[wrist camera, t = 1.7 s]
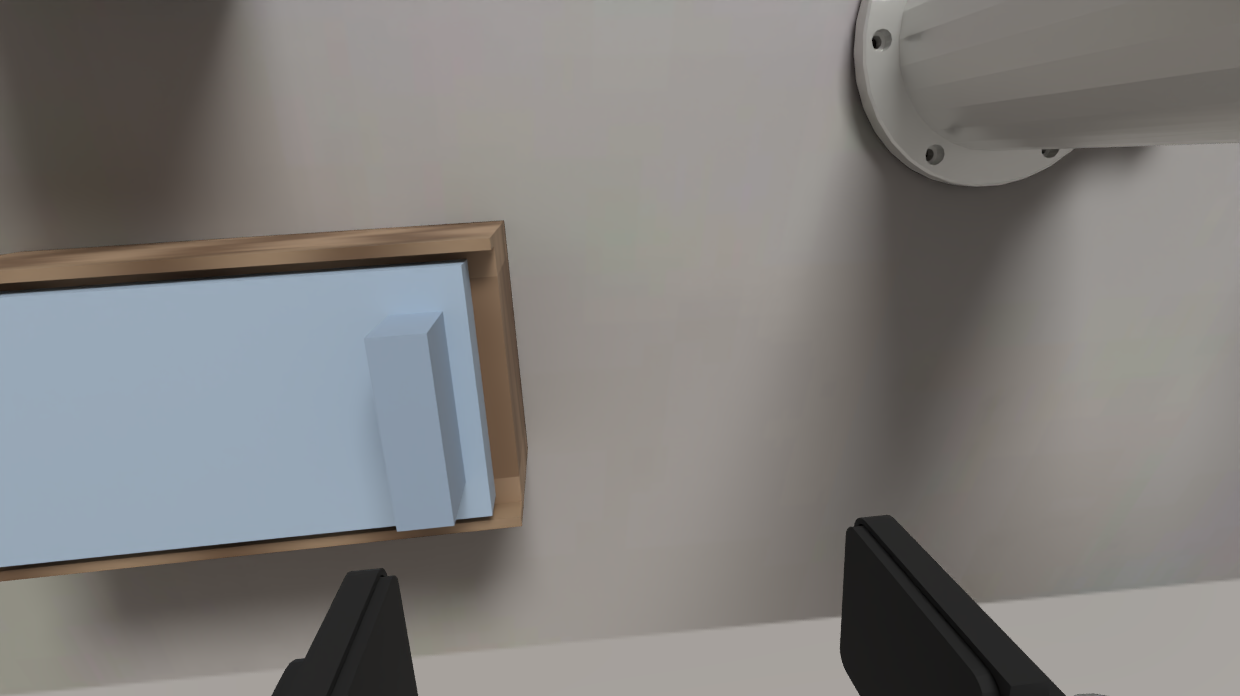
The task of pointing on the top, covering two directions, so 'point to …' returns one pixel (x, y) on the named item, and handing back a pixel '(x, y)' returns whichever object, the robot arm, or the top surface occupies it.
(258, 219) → the top surface
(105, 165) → the top surface
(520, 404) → the walnut box
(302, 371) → the cover plate
